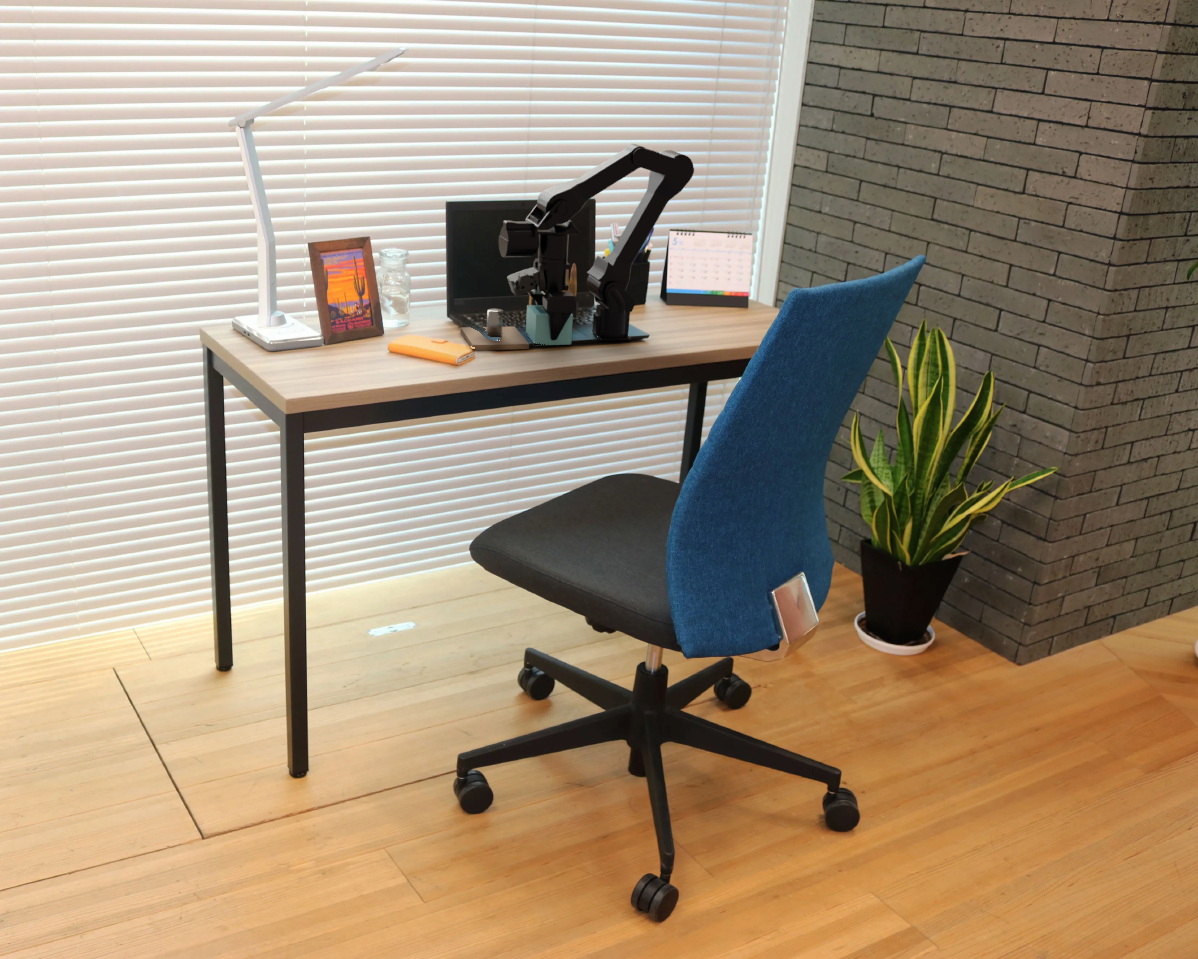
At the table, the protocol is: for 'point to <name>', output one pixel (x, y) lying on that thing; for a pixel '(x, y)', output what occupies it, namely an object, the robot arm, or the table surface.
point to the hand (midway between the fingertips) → (548, 334)
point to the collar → (545, 327)
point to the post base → (495, 345)
